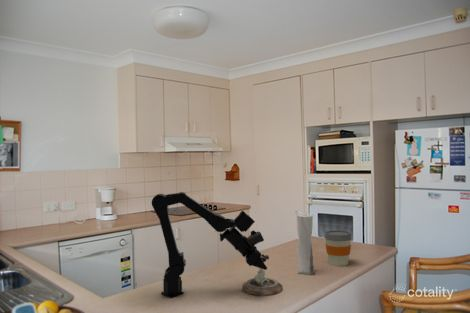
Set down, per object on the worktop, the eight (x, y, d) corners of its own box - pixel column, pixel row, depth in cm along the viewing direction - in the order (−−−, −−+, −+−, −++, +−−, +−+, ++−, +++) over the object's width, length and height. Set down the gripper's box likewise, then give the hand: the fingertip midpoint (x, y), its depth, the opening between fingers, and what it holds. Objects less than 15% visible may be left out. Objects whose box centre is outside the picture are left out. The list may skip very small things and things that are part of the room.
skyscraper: (294, 273, 171) (293, 211, 171) (298, 268, 179) (296, 209, 179) (313, 275, 168) (312, 212, 168) (316, 270, 176) (315, 209, 176)
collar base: (264, 299, 141) (264, 292, 141) (234, 289, 152) (234, 282, 152) (290, 288, 152) (290, 281, 152) (260, 279, 164) (260, 273, 164)
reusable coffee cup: (342, 268, 177) (341, 236, 177) (320, 263, 187) (319, 232, 187) (356, 263, 185) (356, 232, 185) (334, 258, 195) (334, 229, 195)
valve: (265, 282, 156) (264, 253, 157) (272, 287, 150) (272, 257, 150) (250, 285, 154) (249, 255, 154) (257, 290, 148) (257, 259, 148)
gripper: (255, 229, 143) (284, 258, 144) (247, 221, 161) (273, 246, 162) (234, 251, 142) (264, 279, 143) (229, 240, 160) (255, 265, 161)
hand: (265, 266), depth 152 cm, fingers open, 6 cm apart
